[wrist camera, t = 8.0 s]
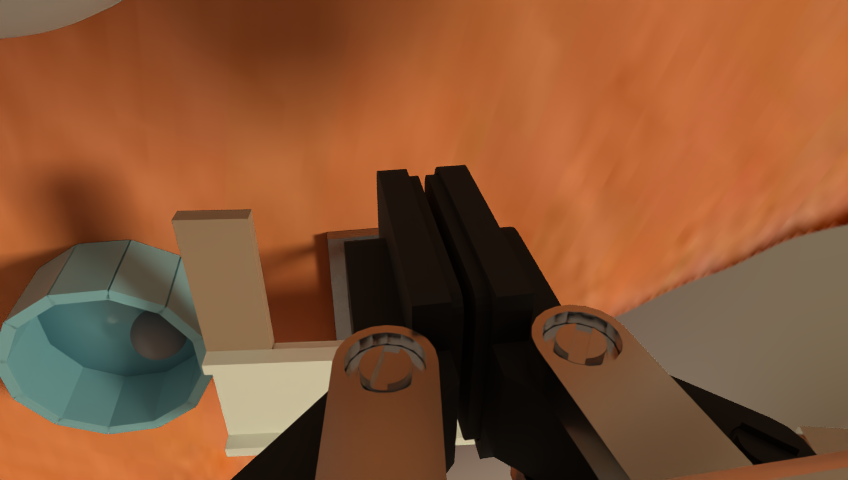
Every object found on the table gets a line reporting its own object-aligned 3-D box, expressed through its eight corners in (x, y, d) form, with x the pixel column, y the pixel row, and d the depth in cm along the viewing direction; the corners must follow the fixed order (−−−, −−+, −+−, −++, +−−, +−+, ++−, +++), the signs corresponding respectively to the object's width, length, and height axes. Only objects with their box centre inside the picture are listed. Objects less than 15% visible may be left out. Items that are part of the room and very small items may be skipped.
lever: (564, 192, 34) (582, 222, 31) (528, 403, 44) (539, 440, 41) (183, 200, 32) (164, 232, 29) (237, 417, 42) (226, 456, 39)
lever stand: (402, 225, 45) (430, 320, 36) (403, 337, 52) (426, 442, 43) (326, 232, 44) (334, 331, 35) (337, 345, 51) (346, 454, 42)
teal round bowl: (201, 233, 43) (188, 282, 38) (232, 364, 50) (225, 418, 45) (1, 250, 40) (-41, 303, 35) (64, 384, 48) (37, 443, 43)
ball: (193, 303, 43) (153, 337, 40) (203, 342, 45) (167, 377, 42) (152, 290, 44) (111, 322, 41) (164, 329, 47) (125, 362, 43)
